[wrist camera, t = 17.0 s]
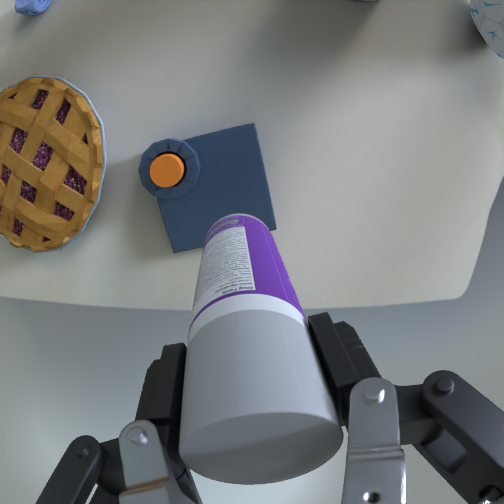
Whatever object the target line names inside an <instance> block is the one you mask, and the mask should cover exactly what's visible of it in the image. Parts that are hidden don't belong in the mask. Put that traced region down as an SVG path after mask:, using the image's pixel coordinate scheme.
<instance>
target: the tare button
mask: <svg viewBox="0 0 504 504" xmlns="http://www.w3.org/2000/svg"><path fill="white" fill-rule="evenodd" d="M183 174H184V164H183V162H182V160H181V159H180V158H179V157H178V156H176V155H174V154H164V155H162V156H159V157H157V158H156V159H155V160H154V161H153V162H152V164H151V166H150V177H151V179H152V181H153V182H154V183H155V184H156V185H158V186H160V187H164V188H167V187H171V186H173V185H175V184H176V183H177V182H178V181H179V180H180V179H181V178H182V176H183Z"/></svg>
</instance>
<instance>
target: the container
mask: <svg viewBox="0 0 504 504" xmlns="http://www.w3.org/2000/svg"><path fill="white" fill-rule="evenodd" d="M342 442H343V431H342V428H341V425H340V421H339V418H338V415H337V412H336V409H335V406H334V402H333V399H332V396H331V393H330V390H329V387H328V384H327V381H326V378H325V375H324V372H323V369H322V366H321V362H320V359H319V356H318V353H317V351H316V348H315V345H314V342H313V339H312V336H311V333H310V330H309V326H308V323H307V321H306V318H305V316H304V313H303V311H302V308H301V306H300V303H299V301H298V298H297V296H296V293H295V291H294V288H293V286H292V283H291V281H290V278H289V276H288V273H287V271H286V268H285V266H284V263H283V261H282V259H281V256H280V254H279V251H278V249H277V246H276V244H275V242H274V239H273V237H272V235H271V233H270V231H269V229H268V227H267V226H266V225H265V224H264V223H263V222H262V221H261V220H259V219H258V218H256V217H254V216H251V215H247V214H231V215H227V216H225V217H223V218H221V219H219V220H218V221H217V222H215V223H214V224H213V225H212V227H211V228H210V229H209V231H208V233H207V235H206V238H205V242H204V247H203V253H202V258H201V263H200V269H199V275H198V280H197V286H196V292H195V297H194V303H193V309H192V316H191V322H190V328H189V335H188V344H187V353H186V364H185V374H184V386H183V398H182V411H181V425H180V442H179V454H180V457H181V459H182V461H183V462H184V463H185V465H186V466H187V467H189V468H190V469H191V470H193V471H194V472H196V473H198V474H200V475H202V476H204V477H207V478H210V479H212V480H216V481H220V482H225V483H232V484H244V485H245V484H246V485H248V484H249V485H253V484H266V483H274V482H279V481H284V480H288V479H292V478H295V477H298V476H301V475H303V474H306V473H308V472H310V471H312V470H314V469H316V468H318V467H320V466H321V465H323V464H324V463H326V462H327V461H328V460H330V459H331V458H332V457H333V456H334V455H335V454H336V453H337V451H338V450H339V449H340V447H341V445H342Z"/></svg>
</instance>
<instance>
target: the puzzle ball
mask: <svg viewBox="0 0 504 504" xmlns="http://www.w3.org/2000/svg"><path fill="white" fill-rule="evenodd" d="M470 4H471V15H472V19H473V21H474V23H475V25H476V27H477V29H478V31H479V32H480V34H481V35H482V37H483V38H484V40H485V42H486V43H487V45H488V46H489V47H490V48H491V49H492V50H493V51H494V52H495V53H496V54H497V55H498V56H500V57H502V58H503V59H504V0H470Z"/></svg>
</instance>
